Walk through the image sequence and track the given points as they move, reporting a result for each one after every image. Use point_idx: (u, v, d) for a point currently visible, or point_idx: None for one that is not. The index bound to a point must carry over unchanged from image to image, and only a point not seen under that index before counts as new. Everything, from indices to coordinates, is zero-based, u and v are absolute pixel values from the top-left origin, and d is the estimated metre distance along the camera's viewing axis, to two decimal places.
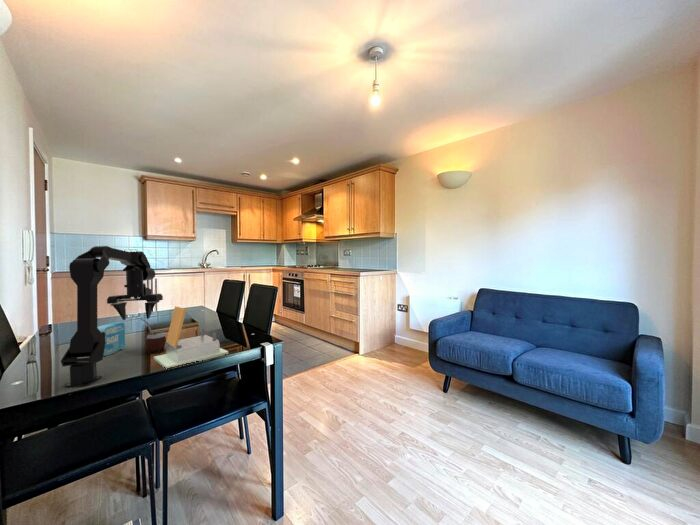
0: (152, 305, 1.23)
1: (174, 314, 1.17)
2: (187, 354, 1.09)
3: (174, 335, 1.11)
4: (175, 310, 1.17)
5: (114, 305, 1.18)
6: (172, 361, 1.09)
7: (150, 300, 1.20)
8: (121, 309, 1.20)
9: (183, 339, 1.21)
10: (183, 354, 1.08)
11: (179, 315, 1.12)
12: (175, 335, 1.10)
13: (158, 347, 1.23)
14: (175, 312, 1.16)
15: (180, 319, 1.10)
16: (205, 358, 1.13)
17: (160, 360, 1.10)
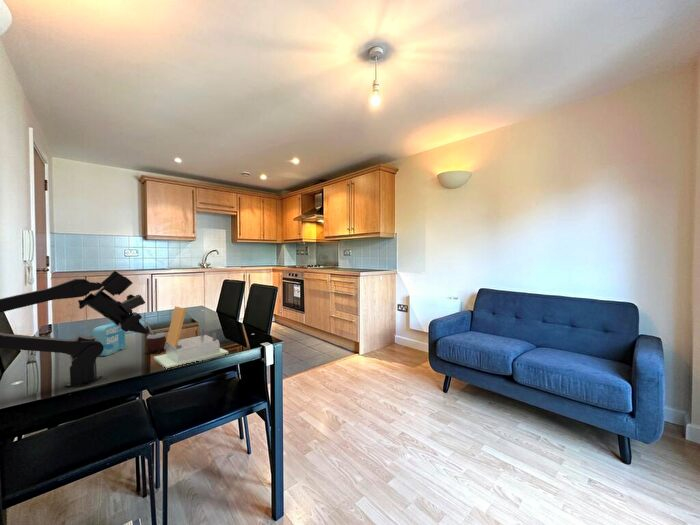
0: (136, 323, 1.03)
1: (174, 314, 1.17)
2: (187, 354, 1.09)
3: (174, 335, 1.11)
4: (175, 310, 1.17)
5: None
6: (172, 361, 1.09)
7: None
8: None
9: (183, 339, 1.21)
10: (183, 354, 1.08)
11: (179, 315, 1.12)
12: (175, 335, 1.10)
13: (158, 347, 1.23)
14: (175, 312, 1.16)
15: (180, 319, 1.10)
16: (205, 358, 1.13)
17: (160, 360, 1.10)
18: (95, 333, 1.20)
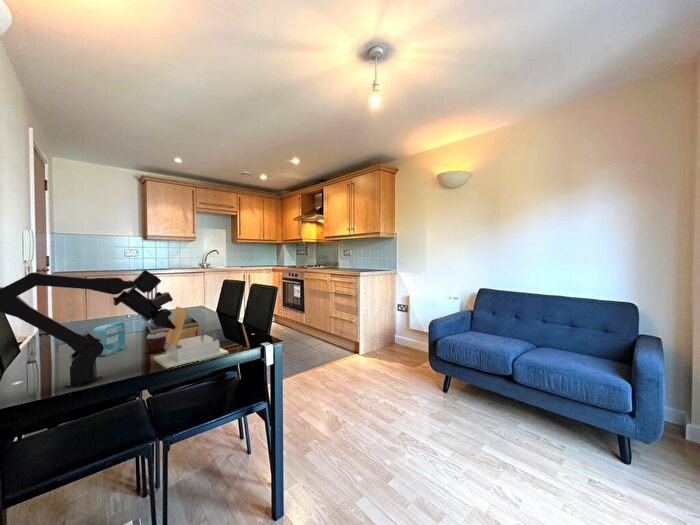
0: (165, 318, 1.09)
1: (174, 314, 1.17)
2: (187, 354, 1.09)
3: (174, 335, 1.11)
4: (176, 310, 1.17)
5: (152, 323, 1.09)
6: (172, 361, 1.09)
7: (155, 325, 1.02)
8: None
9: (183, 339, 1.21)
10: (183, 354, 1.08)
11: (180, 315, 1.13)
12: (175, 335, 1.10)
13: (158, 347, 1.23)
14: (176, 312, 1.16)
15: (181, 319, 1.11)
16: (205, 358, 1.13)
17: (160, 360, 1.10)
18: (95, 333, 1.20)
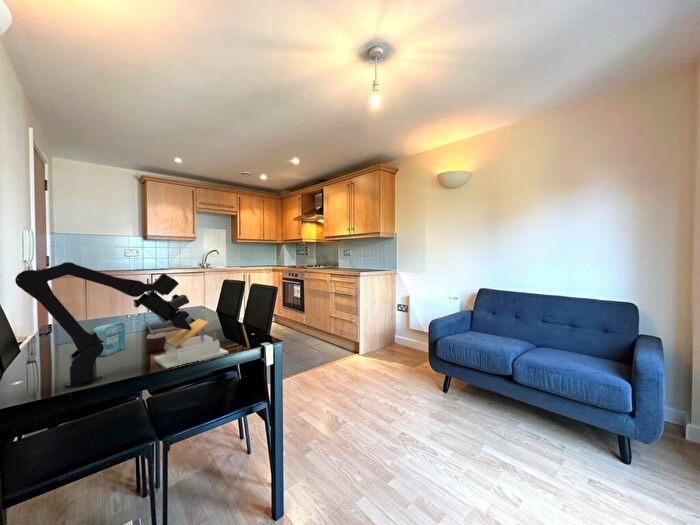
0: None
1: (193, 323, 1.22)
2: (187, 354, 1.09)
3: (181, 338, 1.13)
4: (196, 321, 1.23)
5: None
6: (172, 361, 1.09)
7: (174, 326, 1.06)
8: None
9: None
10: (183, 354, 1.08)
11: (199, 325, 1.17)
12: (183, 338, 1.12)
13: (158, 347, 1.23)
14: (195, 322, 1.21)
15: (198, 328, 1.15)
16: (205, 358, 1.13)
17: (160, 360, 1.10)
18: None
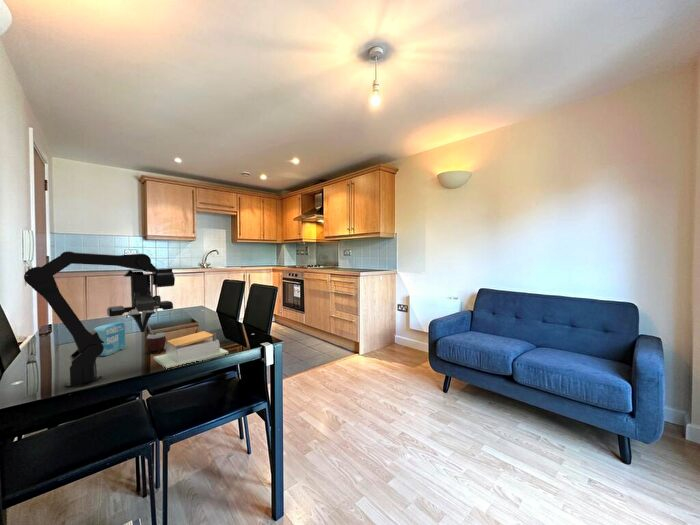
0: None
1: (197, 333, 1.23)
2: (187, 354, 1.09)
3: (183, 341, 1.13)
4: (201, 332, 1.24)
5: None
6: (172, 361, 1.09)
7: None
8: (142, 319, 1.06)
9: None
10: (183, 354, 1.08)
11: (203, 335, 1.19)
12: (185, 341, 1.12)
13: (158, 347, 1.23)
14: (200, 333, 1.23)
15: (202, 337, 1.16)
16: (205, 358, 1.13)
17: (160, 360, 1.10)
18: None
